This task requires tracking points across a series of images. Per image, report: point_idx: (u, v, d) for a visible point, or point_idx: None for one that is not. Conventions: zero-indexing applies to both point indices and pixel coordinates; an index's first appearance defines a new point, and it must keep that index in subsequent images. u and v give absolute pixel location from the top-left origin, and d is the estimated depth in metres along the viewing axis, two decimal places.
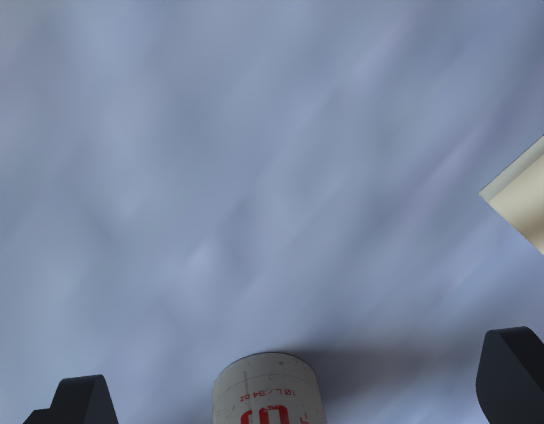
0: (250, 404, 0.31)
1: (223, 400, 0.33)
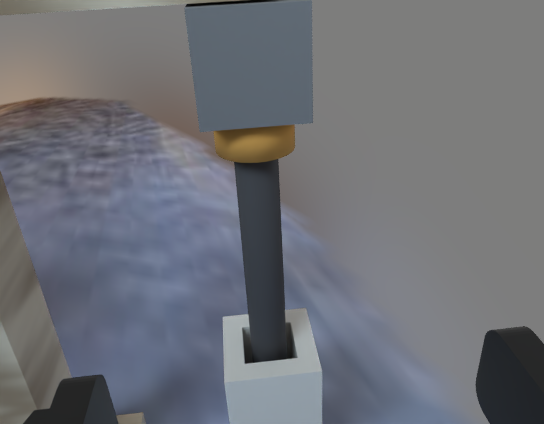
0: None
1: None
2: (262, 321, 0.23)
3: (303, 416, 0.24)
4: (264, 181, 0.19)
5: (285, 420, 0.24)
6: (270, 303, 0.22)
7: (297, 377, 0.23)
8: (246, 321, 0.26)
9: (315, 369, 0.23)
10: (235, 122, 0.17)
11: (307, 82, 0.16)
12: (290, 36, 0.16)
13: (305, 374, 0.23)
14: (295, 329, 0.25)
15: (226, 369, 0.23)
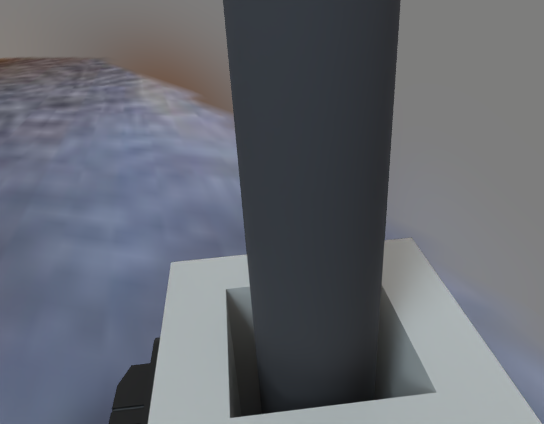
0: None
1: None
2: (305, 239, 0.05)
3: None
4: None
5: None
6: (341, 148, 0.05)
7: None
8: (239, 272, 0.09)
9: None
10: None
11: None
12: None
13: None
14: (397, 293, 0.08)
15: None
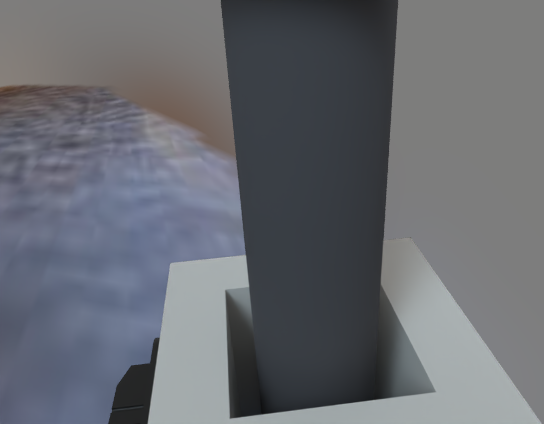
0: None
1: None
2: None
3: None
4: (349, 60, 0.04)
5: None
6: None
7: None
8: (238, 273, 0.09)
9: None
10: None
11: None
12: None
13: None
14: (396, 293, 0.08)
15: None
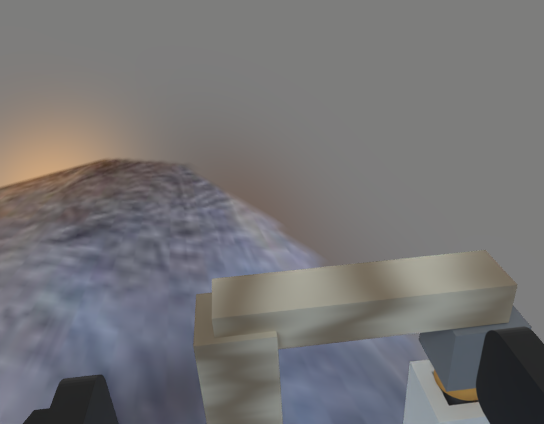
0: None
1: None
2: None
3: None
4: None
5: None
6: None
7: None
8: (432, 366, 0.30)
9: None
10: (469, 385, 0.26)
11: None
12: None
13: None
14: None
15: (435, 410, 0.28)
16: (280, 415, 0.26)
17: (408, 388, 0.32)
